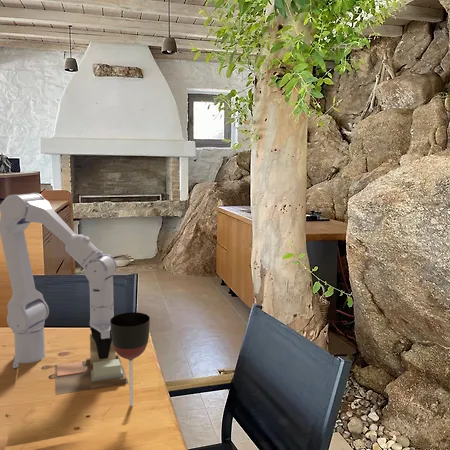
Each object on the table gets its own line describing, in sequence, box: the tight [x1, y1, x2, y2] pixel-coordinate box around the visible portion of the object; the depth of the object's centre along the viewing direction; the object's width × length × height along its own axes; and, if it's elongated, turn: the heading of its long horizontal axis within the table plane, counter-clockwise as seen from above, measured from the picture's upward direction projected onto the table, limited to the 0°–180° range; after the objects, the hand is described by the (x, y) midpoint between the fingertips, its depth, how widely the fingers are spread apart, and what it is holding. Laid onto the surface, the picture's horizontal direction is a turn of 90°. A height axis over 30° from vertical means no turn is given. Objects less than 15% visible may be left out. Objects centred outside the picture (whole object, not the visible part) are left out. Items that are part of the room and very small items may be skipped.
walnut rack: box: [54, 354, 129, 396], centre depth 110 cm, size 16×16×2 cm
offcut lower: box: [91, 368, 123, 382], centre depth 107 cm, size 4×7×2 cm, turn 111°
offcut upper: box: [93, 359, 121, 377], centre depth 107 cm, size 4×6×2 cm, turn 111°
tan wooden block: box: [89, 334, 117, 365], centre depth 114 cm, size 2×6×8 cm, turn 111°
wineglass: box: [110, 311, 151, 407], centre depth 95 cm, size 8×9×20 cm
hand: (102, 355), depth 115 cm, fingers closed on tan wooden block, 2 cm apart
